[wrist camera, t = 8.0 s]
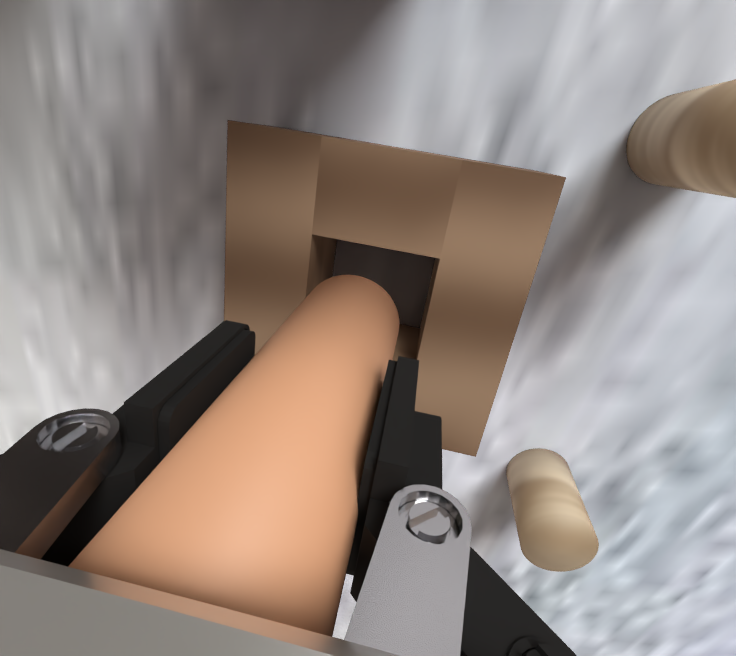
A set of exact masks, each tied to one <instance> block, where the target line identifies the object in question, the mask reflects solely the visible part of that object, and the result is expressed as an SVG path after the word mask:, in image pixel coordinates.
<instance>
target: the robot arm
mask: <svg viewBox="0 0 736 656" xmlns="http://www.w3.org/2000/svg"><path fill="white" fill-rule="evenodd" d="M255 339H256V336H255V332H254V331H250V328H249V326H248V324H243V323H238V322H233V321H228V320H226V321H224V322H223V323H221V324H220V325H219V326H218V327H216V328H215V329H214V330H213V331H211V332H210V333H209V334H208V335H207V336H205V337H204V338H203V339H202V340H200V341H199V342H198V343H197V344H195V345H194V346H193V347H192V348H190V349H189V350H188V351H187V352H186V353H184V354H183V355H182V356H181V357H179V358H178V359H177V360H176V361H174V362H173V363H172V364H171V365H169V366H168V367H167V368H166V369H165V370H163V371H162V372H161V373H160V374H158V375H157V376H156V377H155V378H153V379H152V380H151V381H150V382H149V383H147V384H146V385H145V386H144V387H142V388H141V389H140V390H139V391H137V392H136V393H135V394H134V395H132V396H131V397H130V398H129V399H128V400H126V401H125V402H124V405H123V406H121V407H120V408H119V409H118V410H117V411H115V412H114V413H113V414H111V413H110V412H108V411H104V410H100V409H78V410H71V411H67V412H63V413H60V414H57V415H54V416H52V417H50V418H48V419H45V420H44V421H42V422H41V423H39V424H38V425H36V426H35V427H34V428H33V429H31V430H30V431H29V432H28V433H27V434H26V435H24V436H23V437H22V438H21V439H20V440H19V441H18V442H16V443H15V444H14V445H13V446H12V447H11V448H9V449H8V450H7V451H6V452H5V453H4V454H1V455H0V656H576V655H575V653H574V652H573V651H572V650H571V649H570V648H569V647H568V646H567V645H566V644H565V643H564V642H563V641H562V640H561V639H560V638H559V637H558V636H557V635H556V634H555V633H554V632H553V631H552V630H551V629H550V628H549V627H548V626H547V625H546V624H545V622H544V621H543V620H542V619H541V618H540V617H539V616H538V615H537V614H536V613H535V612H534V611H533V610H532V609H531V608H530V607H529V606H528V605H527V604H526V603H525V602H524V601H523V600H522V599H521V598H520V597H519V596H518V595H517V594H516V593H515V592H514V591H513V590H512V589H511V588H510V587H509V586H508V585H507V584H506V582H505V581H504V580H503V579H502V578H501V577H500V576H499V575H498V574H497V573H496V572H495V571H494V570H493V569H492V568H491V567H490V566H489V565H488V564H487V563H486V562H485V561H484V560H483V559H482V558H481V557H480V556H479V555H478V554H477V553H476V552H475V551H474V550H473V549H472V548H471V547H470V544H471V533H472V528H471V519H470V517H469V515H468V513H467V511H466V509H465V508H464V506H463V505H462V504H461V503H460V502H459V500H458V499H456V498H455V497H454V496H452V495H451V494H449V493H448V492H446V491H444V490H442V420H441V417H440V416H436V415H431V414H427V413H422V412H417V411H415V401H416V391H417V380H418V369H419V360H416V359H411V358H406V357H402V356H398V360H397V361H394V360H389V361H388V365H387V370H386V374H385V378H384V382H383V386H382V391H381V395H380V399H379V403H378V408H377V412H376V416H375V420H374V424H373V429H372V433H371V437H370V441H369V446H368V450H367V454H366V459H365V464H364V469H363V474H362V479H361V484H360V489H359V495H358V500H357V504H358V518H357V525H356V530H355V534H354V539H353V544H352V548H351V553H350V557H349V562H348V566H347V571H346V574H350V575H354V577H353V582H352V587H351V592H350V593H351V595H352V596H353V598H354V599H355V601H356V602H357V603H356V606H355V609H354V612H353V615H352V618H351V621H350V624H349V627H348V630H347V633H346V636H345V638H344V640H342V639H338V638H334V637H331V636H327V635H323V634H319V633H316V632H312V631H308V630H305V629H301V628H297V627H293V626H290V625H286V624H282V623H279V622H275V621H271V620H267V619H264V618H260V617H256V616H253V615H249V614H245V613H241V612H238V611H234V610H230V609H227V608H223V607H219V606H215V605H212V604H208V603H204V602H200V601H196V600H193V599H189V598H185V597H181V596H177V595H174V594H170V593H166V592H162V591H159V590H155V589H151V588H147V587H143V586H140V585H136V584H132V583H128V582H124V581H121V580H117V579H113V578H109V577H105V576H101V575H98V574H94V573H90V572H86V571H82V570H79V569H75V568H71V567H68V566H69V565H70V564H71V563H72V562H73V560H74V559H75V558H76V557H77V556H78V555H79V554H80V553H81V551H82V550H83V549H84V548H85V547H86V546H87V545H88V544H89V542H90V541H91V540H92V539H93V538H94V537H95V536H96V534H97V533H98V532H99V531H100V530H101V529H102V528H103V527H104V525H105V524H106V523H107V522H108V521H109V520H110V519H111V518H112V516H113V515H114V514H115V513H116V512H117V511H118V510H119V508H120V507H121V506H122V505H123V504H124V503H125V502H126V501H127V499H128V498H129V497H130V496H131V495H132V494H133V493H134V492H135V490H136V489H137V488H138V487H139V486H140V485H141V484H142V482H143V481H144V480H145V479H146V478H147V477H148V476H149V475H150V473H151V472H152V471H153V470H154V469H155V468H156V467H157V465H158V464H159V463H160V462H161V461H162V460H163V459H164V458H165V456H166V455H167V454H168V453H169V452H170V451H171V450H172V449H173V447H174V446H175V445H176V444H177V443H178V442H179V441H180V439H181V438H182V437H183V436H184V435H185V434H186V433H187V432H188V430H189V429H190V428H191V427H192V426H193V425H194V424H195V423H196V421H197V420H198V419H199V418H200V417H201V416H202V415H203V413H204V412H205V411H206V410H207V409H208V408H209V407H210V406H211V404H212V403H213V402H214V401H215V400H216V399H217V398H218V397H219V395H220V394H221V393H222V392H223V391H224V390H225V389H226V387H227V386H228V385H229V384H230V383H231V382H232V381H233V380H234V378H235V377H236V376H237V375H238V374H239V373H240V372H241V370H242V369H243V368H244V367H245V366H246V365H247V364H248V363H249V361H250V360H251V359H252V358H253V357H254V356H255Z"/></svg>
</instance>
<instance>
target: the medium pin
mask: <svg viewBox="0 0 736 656" xmlns="http://www.w3.org/2000/svg"><path fill="white" fill-rule="evenodd" d="M626 153H627V160H628V163H629V166H630V168H631V169H632V171H633V172H634V173H635V175H636V176H638V177H639V178H640V179H642V180H643V181H645V182H648V183H651V184H655V185H661V186H667V187H673V188H679V189H685V190H691V191H697V192H703V193H709V194H715V195H721V196H727V197H733V198H736V80H732V81H727V82H723V83H719V84H715V85H711V86H706V87H702V88H698V89H694V90H690V91H685V92H681V93H677V94H673V95H670V96H667V97H664V98H662V99H660V100H658V101H657V102H655V103H654V104H652V105H651V106H649V107H648V108H647V109H646V110H645V111H644V112H643V113H642V114H641V115H640V116H639V118H638V119H637V120H636V122H635V123H634V125H633V127H632V129H631V131H630V134H629V137H628V140H627V147H626Z"/></svg>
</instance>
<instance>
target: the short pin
mask: <svg viewBox="0 0 736 656" xmlns="http://www.w3.org/2000/svg"><path fill="white" fill-rule="evenodd" d="M506 476H507V481H508V486H509V491H510V496H511V501H512V506H513V511H514V516H515V521H516V526H517V531H518V536H519V541H520V546H521V550H522V552H523V554H524V556H525V557H526V558H527V559H528V560H529V561H530V562H531V563H532V564H534V565H536V566H538V567H540V568H542V569H546V570H550V571H571V570H575V569H578V568H581V567H583V566H585V565H586V564H588V563H589V562H590V561H591V560H592V559H593V558H594V557H595V555H596V554H597V551H598V546H599V543H598V539H597V536H596V534H595V531H594V529H593V526H592V524H591V521H590V519H589V516H588V514H587V511H586V509H585V506H584V504H583V501H582V499H581V496H580V494H579V491H578V489H577V486H576V484H575V481H574V479H573V476H572V474H571V471H570V469H569V466H568V464H567V462H566V461H565V459H564V458H563V457H562V456H560V455H559V454H557V453H555V452H553V451H551V450H547V449H529V450H526V451H523V452H521V453H519V454H517V455H516V456H515V457H513V458H512V459H511V461H510V462H509V464H508V466H507V470H506Z"/></svg>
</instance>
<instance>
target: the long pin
mask: <svg viewBox="0 0 736 656" xmlns="http://www.w3.org/2000/svg"><path fill="white" fill-rule="evenodd" d="M398 333H399V315H398V311H397V308H396V306H395V304H394V302H393V300H392V298H391V297H390V296H389V294H388V293H387V292H386V291H385V290H384V289H383V288H382V287H381V286H379V285H378V284H377V283H375V282H373V281H371V280H369V279H367V278H364V277H361V276H357V275H338V276H334V277H331V278H329V279H326V280H324V281H323V282H321V283H320V284H318V285H317V286H316V287H315V288H314V289H313V290H312V291H311V292H310V294H309V295H308V296H307V297H306V298H305V299H304V300H303V302H302V303H301V304H300V305H299V306H298V307H297V308H296V309H295V311H294V312H293V313H292V314H291V315H290V316H289V317H288V318H287V320H286V321H285V322H284V323H283V324H282V325H281V326H280V328H279V329H278V330H277V331H276V332H275V333H274V334H273V335H272V337H271V338H270V339H269V340H268V341H267V342H266V343H265V344H264V346H263V347H262V348H261V349H260V350H259V351H258V352H257V354H256V355H255V356H254V357H253V358H252V359H251V360H250V361H249V363H248V364H247V365H246V366H245V367H244V368H243V369H242V370H241V372H240V373H239V374H238V375H237V376H236V377H235V378H234V380H233V381H232V382H231V383H230V384H229V385H228V386H227V387H226V389H225V390H224V391H223V392H222V393H221V394H220V395H219V397H218V398H217V399H216V400H215V401H214V402H213V403H212V404H211V406H210V407H209V408H208V409H207V410H206V411H205V412H204V413H203V415H202V416H201V417H200V418H199V419H198V420H197V421H196V423H195V424H194V425H193V426H192V427H191V428H190V429H189V430H188V432H187V433H186V434H185V435H184V436H183V437H182V438H181V439H180V441H179V442H178V443H177V444H176V445H175V446H174V447H173V449H172V450H171V451H170V452H169V453H168V454H167V455H166V456H165V458H164V459H163V460H162V461H161V462H160V463H159V464H158V465H157V467H156V468H155V469H154V470H153V471H152V472H151V473H150V475H149V476H148V477H147V478H146V479H145V480H144V481H143V482H142V484H141V485H140V486H139V487H138V488H137V489H136V490H135V492H134V493H133V494H132V495H131V496H130V497H129V498H128V499H127V501H126V502H125V503H124V504H123V505H122V506H121V507H120V508H119V510H118V511H117V512H116V513H115V514H114V515H113V516H112V518H111V519H110V520H109V521H108V522H107V523H106V524H105V525H104V527H103V528H102V529H101V530H100V531H99V532H98V533H97V534H96V536H95V537H94V538H93V539H92V540H91V541H90V542H89V544H88V545H87V546H86V547H85V548H84V549H83V550H82V551H81V553H80V554H79V555H78V556H77V557H76V558H75V559H74V560H73V562H72V563H71V564H70V565H69V566H68V567H71V568H75V569H79V570H82V571H86V572H90V573H94V574H98V575H101V576H105V577H109V578H113V579H117V580H121V581H124V582H128V583H132V584H136V585H140V586H143V587H147V588H151V589H155V590H159V591H162V592H166V593H170V594H174V595H177V596H181V597H185V598H189V599H193V600H196V601H200V602H204V603H208V604H212V605H215V606H219V607H223V608H227V609H230V610H234V611H238V612H241V613H245V614H249V615H253V616H256V617H260V618H264V619H267V620H271V621H275V622H279V623H282V624H286V625H290V626H293V627H297V628H301V629H305V630H308V631H312V632H316V633H319V634H323V635H327V636H331V637H332V635H333V631H334V626H335V621H336V617H337V612H338V608H339V603H340V599H341V594H342V589H343V585H344V580H345V576H346V571H347V566H348V562H349V557H350V553H351V548H352V544H353V539H354V534H355V530H356V525H357V518H358V504H357V500H358V495H359V489H360V484H361V479H362V474H363V469H364V464H365V459H366V454H367V450H368V446H369V441H370V437H371V433H372V429H373V424H374V420H375V416H376V412H377V408H378V403H379V399H380V395H381V391H382V386H383V382H384V378H385V374H386V370H387V365H388V361H389V360H393V356H394V351H395V346H396V342H397V337H398Z"/></svg>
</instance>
